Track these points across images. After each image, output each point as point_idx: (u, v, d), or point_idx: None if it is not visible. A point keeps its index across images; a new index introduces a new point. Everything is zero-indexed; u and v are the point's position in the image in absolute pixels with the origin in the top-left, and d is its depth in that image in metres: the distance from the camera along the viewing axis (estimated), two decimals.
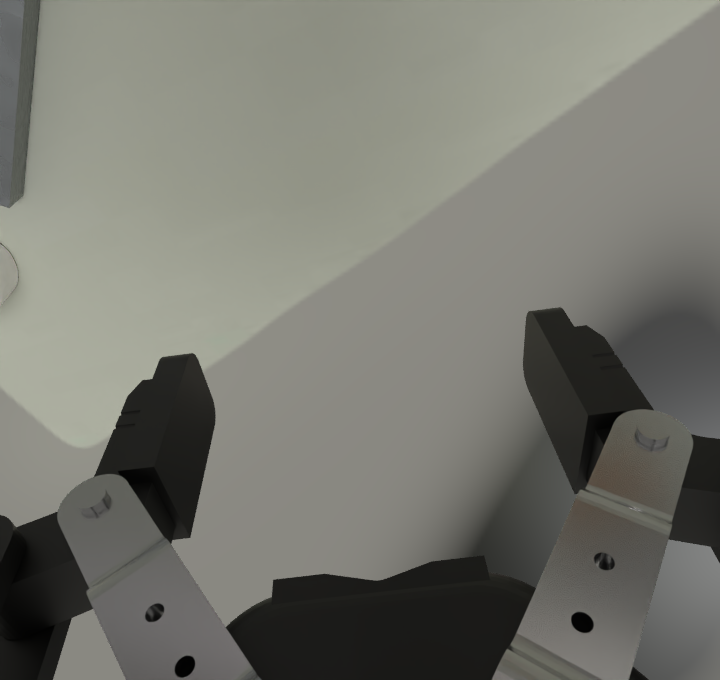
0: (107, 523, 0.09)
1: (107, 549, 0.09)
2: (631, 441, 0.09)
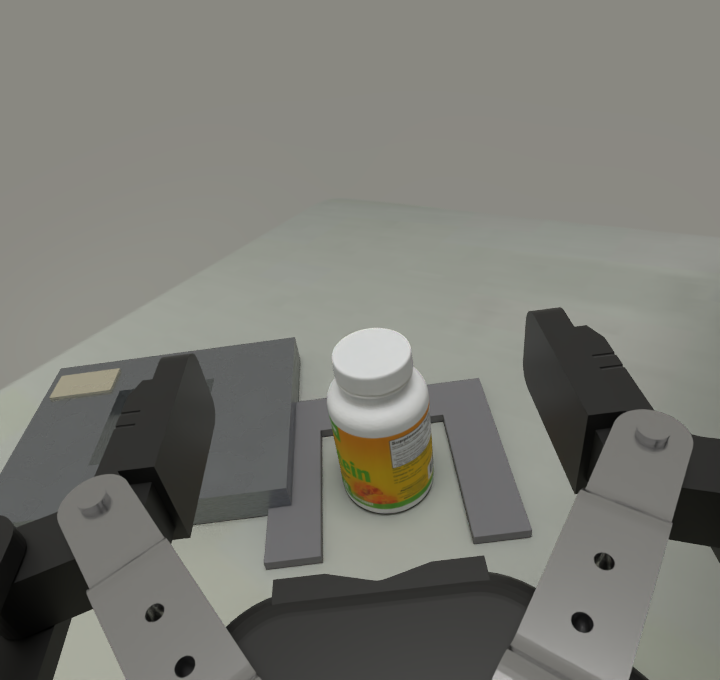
0: (107, 523, 0.09)
1: (107, 549, 0.09)
2: (631, 441, 0.09)
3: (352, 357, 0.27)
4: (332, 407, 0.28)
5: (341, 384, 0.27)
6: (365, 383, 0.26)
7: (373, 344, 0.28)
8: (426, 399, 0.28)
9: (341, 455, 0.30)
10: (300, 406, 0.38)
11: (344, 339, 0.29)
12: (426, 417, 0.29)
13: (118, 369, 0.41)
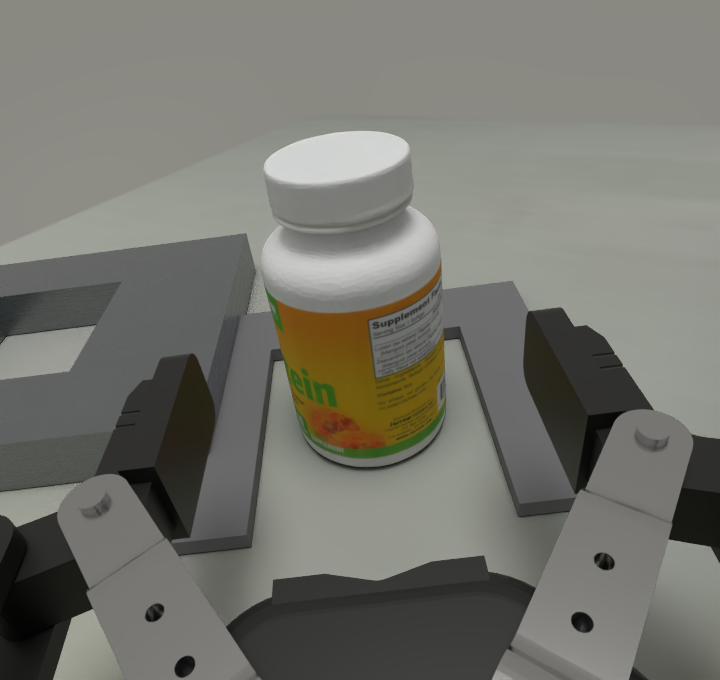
0: (107, 523, 0.09)
1: (107, 549, 0.09)
2: (631, 441, 0.09)
3: (300, 162, 0.15)
4: (266, 264, 0.16)
5: (278, 210, 0.15)
6: (320, 196, 0.14)
7: (341, 147, 0.15)
8: (436, 252, 0.16)
9: (288, 361, 0.17)
10: (245, 320, 0.26)
11: (291, 145, 0.16)
12: (436, 287, 0.16)
13: None
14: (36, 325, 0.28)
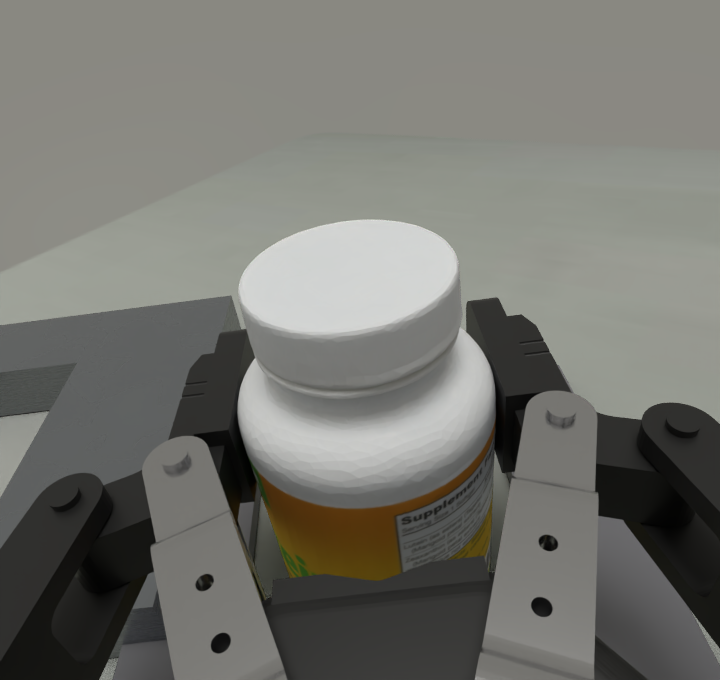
0: (183, 484, 0.10)
1: (195, 502, 0.09)
2: (540, 419, 0.10)
3: (294, 281, 0.10)
4: (244, 420, 0.11)
5: (260, 355, 0.10)
6: (325, 351, 0.09)
7: (354, 252, 0.10)
8: (493, 401, 0.11)
9: (277, 536, 0.12)
10: None
11: (280, 244, 0.11)
12: (490, 448, 0.11)
13: None
14: None
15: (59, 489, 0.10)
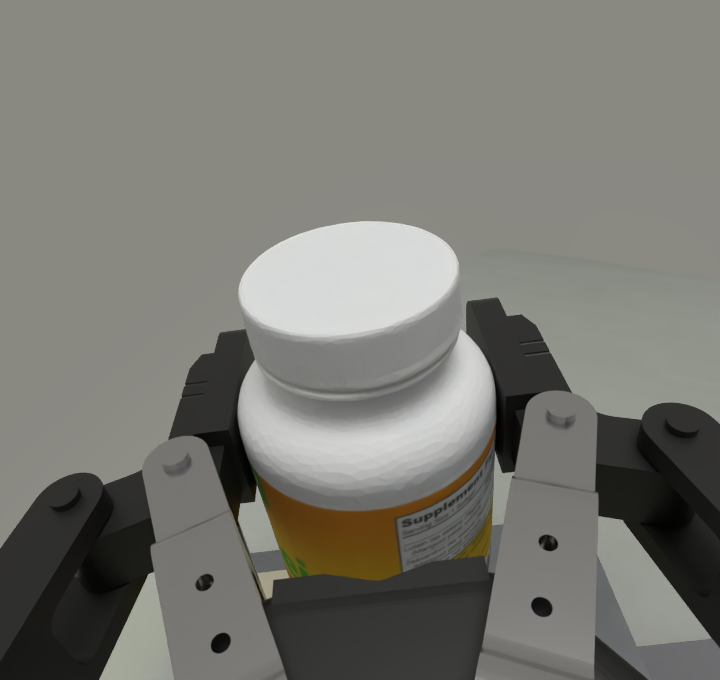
0: (183, 484, 0.10)
1: (195, 502, 0.09)
2: (540, 419, 0.10)
3: (294, 284, 0.10)
4: (244, 422, 0.11)
5: (261, 358, 0.10)
6: (325, 353, 0.09)
7: (354, 254, 0.10)
8: (493, 403, 0.11)
9: (277, 538, 0.12)
10: None
11: (280, 246, 0.11)
12: (491, 450, 0.11)
13: None
14: None
15: (58, 489, 0.10)
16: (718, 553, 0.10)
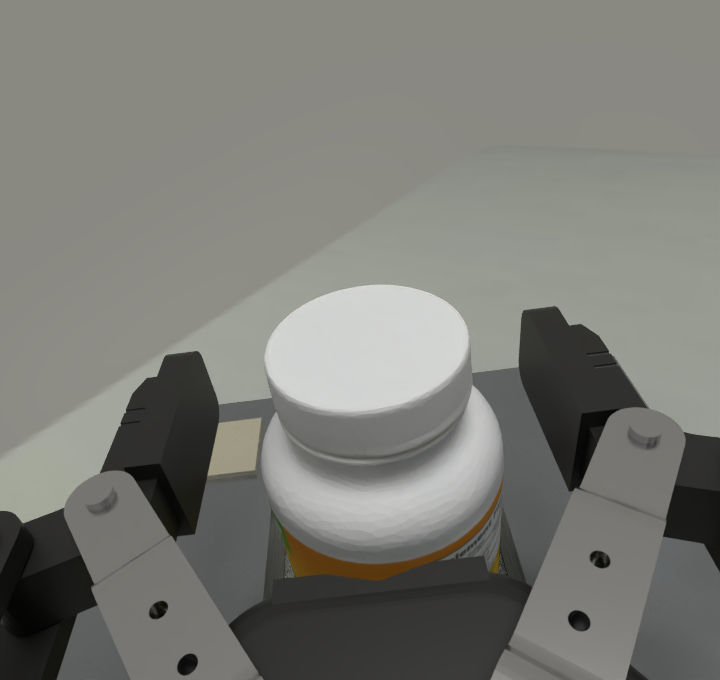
0: (113, 519, 0.09)
1: (113, 545, 0.09)
2: (624, 439, 0.09)
3: (316, 353, 0.11)
4: (269, 477, 0.12)
5: (285, 423, 0.10)
6: (348, 426, 0.09)
7: (371, 321, 0.11)
8: (501, 458, 0.12)
9: None
10: None
11: (301, 310, 0.12)
12: (499, 500, 0.12)
13: (257, 419, 0.20)
14: None
15: None
16: None
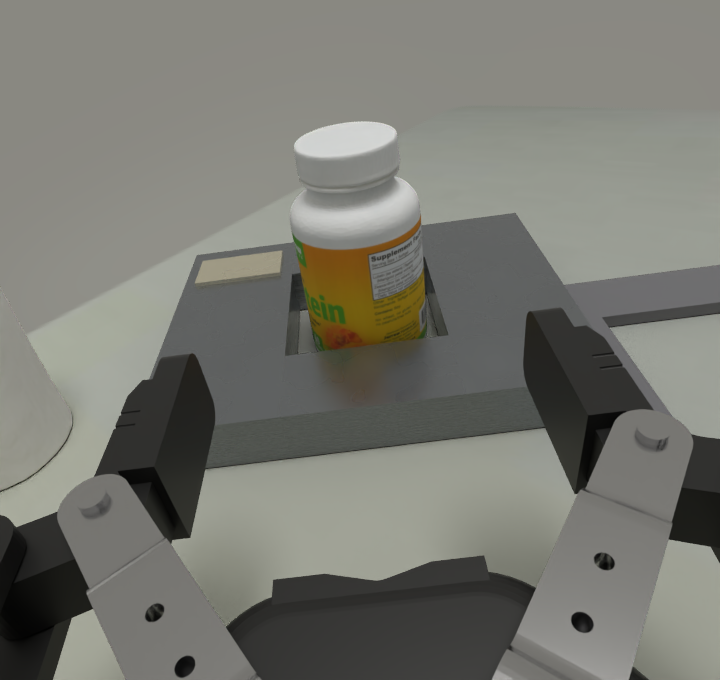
0: (108, 524, 0.09)
1: (107, 549, 0.09)
2: (631, 441, 0.09)
3: (320, 143, 0.21)
4: (295, 217, 0.22)
5: (304, 177, 0.21)
6: (335, 165, 0.20)
7: (348, 132, 0.22)
8: (416, 208, 0.22)
9: (309, 291, 0.24)
10: None
11: (311, 132, 0.22)
12: (417, 234, 0.22)
13: (279, 251, 0.31)
14: None
15: None
16: None
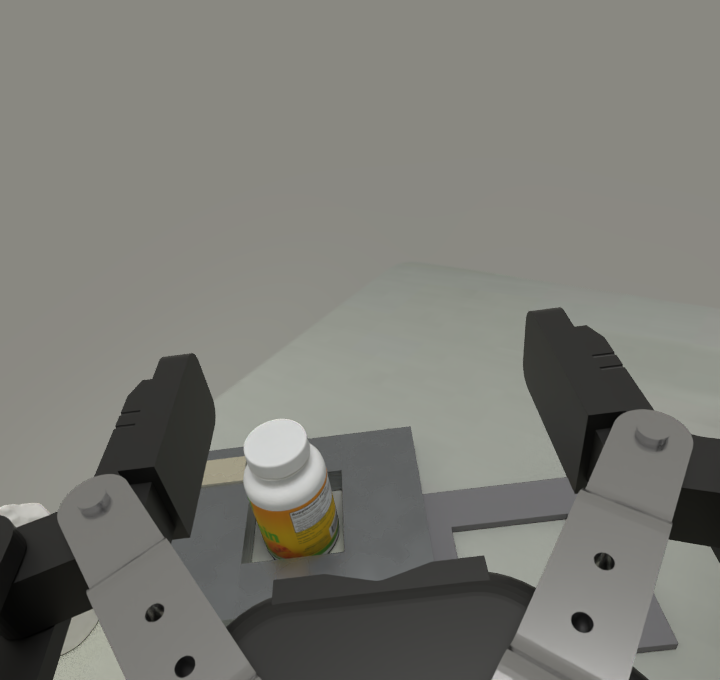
0: (107, 523, 0.09)
1: (107, 549, 0.09)
2: (631, 441, 0.09)
3: (259, 446, 0.34)
4: (245, 484, 0.35)
5: (250, 468, 0.34)
6: (266, 470, 0.33)
7: (277, 434, 0.35)
8: (321, 478, 0.35)
9: None
10: (426, 499, 0.41)
11: (256, 429, 0.36)
12: (322, 491, 0.36)
13: (244, 456, 0.44)
14: None
15: None
16: None
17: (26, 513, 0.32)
